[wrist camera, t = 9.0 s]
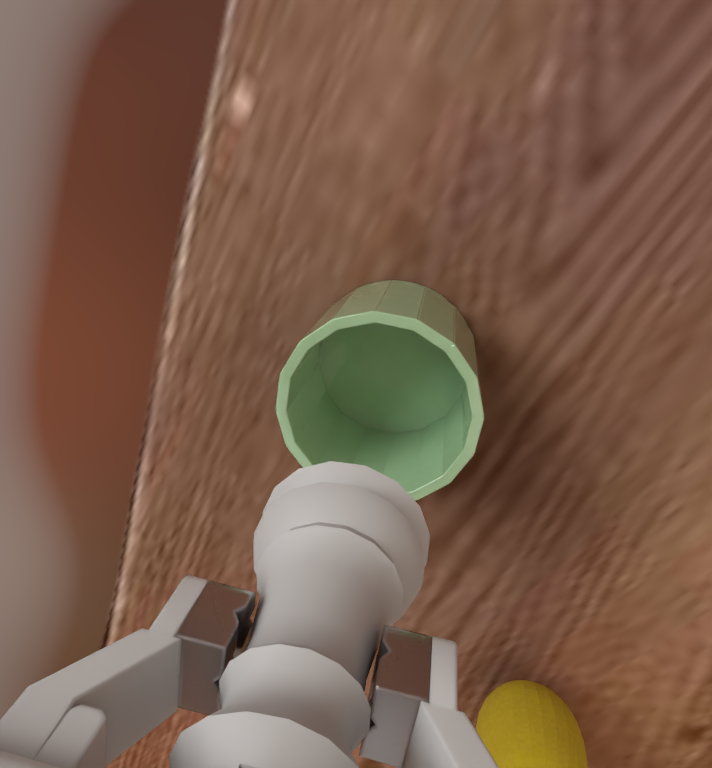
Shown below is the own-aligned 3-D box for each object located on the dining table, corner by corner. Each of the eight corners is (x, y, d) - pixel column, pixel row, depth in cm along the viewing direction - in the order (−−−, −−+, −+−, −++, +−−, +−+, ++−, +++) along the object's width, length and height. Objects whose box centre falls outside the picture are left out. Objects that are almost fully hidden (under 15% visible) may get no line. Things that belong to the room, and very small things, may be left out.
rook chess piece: (283, 594, 17) (145, 938, 9) (252, 456, 15) (57, 735, 8) (438, 593, 16) (423, 975, 8) (421, 446, 14) (384, 752, 7)
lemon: (542, 635, 32) (568, 775, 25) (587, 703, 33) (625, 857, 26) (455, 666, 34) (455, 805, 26) (501, 730, 35) (514, 880, 28)
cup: (455, 449, 29) (456, 523, 23) (305, 416, 30) (266, 479, 24) (495, 298, 26) (506, 337, 20) (326, 265, 27) (289, 293, 21)
